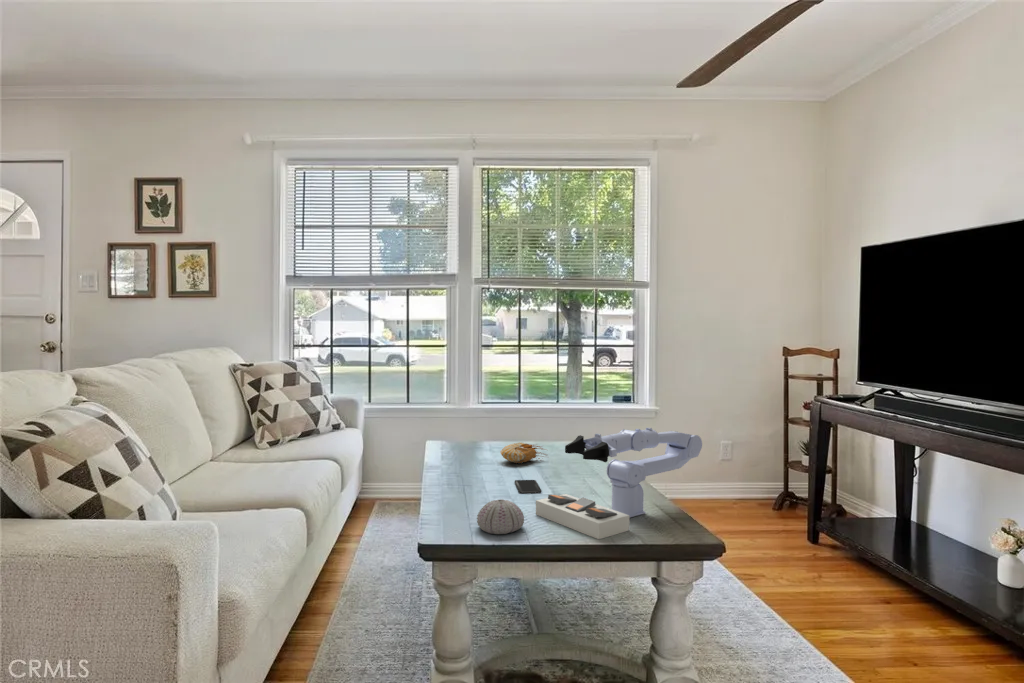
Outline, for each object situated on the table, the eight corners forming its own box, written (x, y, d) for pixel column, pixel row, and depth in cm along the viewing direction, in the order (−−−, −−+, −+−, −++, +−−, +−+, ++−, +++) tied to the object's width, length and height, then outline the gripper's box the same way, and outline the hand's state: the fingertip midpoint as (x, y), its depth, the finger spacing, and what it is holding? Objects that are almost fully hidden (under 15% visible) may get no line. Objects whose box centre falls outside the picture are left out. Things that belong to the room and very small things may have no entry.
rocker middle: (583, 502, 173) (582, 497, 173) (595, 506, 169) (595, 501, 169) (566, 511, 169) (565, 505, 169) (578, 515, 165) (577, 510, 165)
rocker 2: (602, 514, 166) (603, 508, 167) (615, 518, 162) (616, 512, 163) (585, 513, 162) (586, 507, 162) (598, 518, 158) (599, 512, 158)
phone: (519, 491, 198) (514, 480, 213) (519, 494, 198) (514, 483, 213) (542, 490, 199) (535, 479, 214) (542, 494, 199) (535, 482, 214)
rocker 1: (564, 500, 179) (565, 495, 179) (575, 504, 175) (576, 499, 175) (547, 499, 175) (548, 494, 175) (558, 503, 171) (559, 498, 171)
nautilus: (545, 458, 255) (553, 468, 240) (496, 457, 251) (502, 466, 237) (546, 440, 255) (555, 449, 240) (497, 438, 251) (503, 447, 236)
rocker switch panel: (565, 507, 183) (565, 493, 183) (629, 530, 162) (629, 515, 162) (535, 514, 176) (535, 500, 175) (598, 539, 155) (598, 523, 155)
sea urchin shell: (476, 537, 156) (476, 507, 155) (476, 521, 169) (476, 493, 169) (526, 537, 156) (526, 507, 156) (522, 521, 170) (522, 493, 170)
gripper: (592, 426, 179) (558, 433, 171) (627, 436, 167) (592, 443, 159) (592, 449, 179) (558, 457, 171) (627, 460, 167) (592, 469, 160)
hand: (574, 452), depth 165 cm, fingers open, 7 cm apart
